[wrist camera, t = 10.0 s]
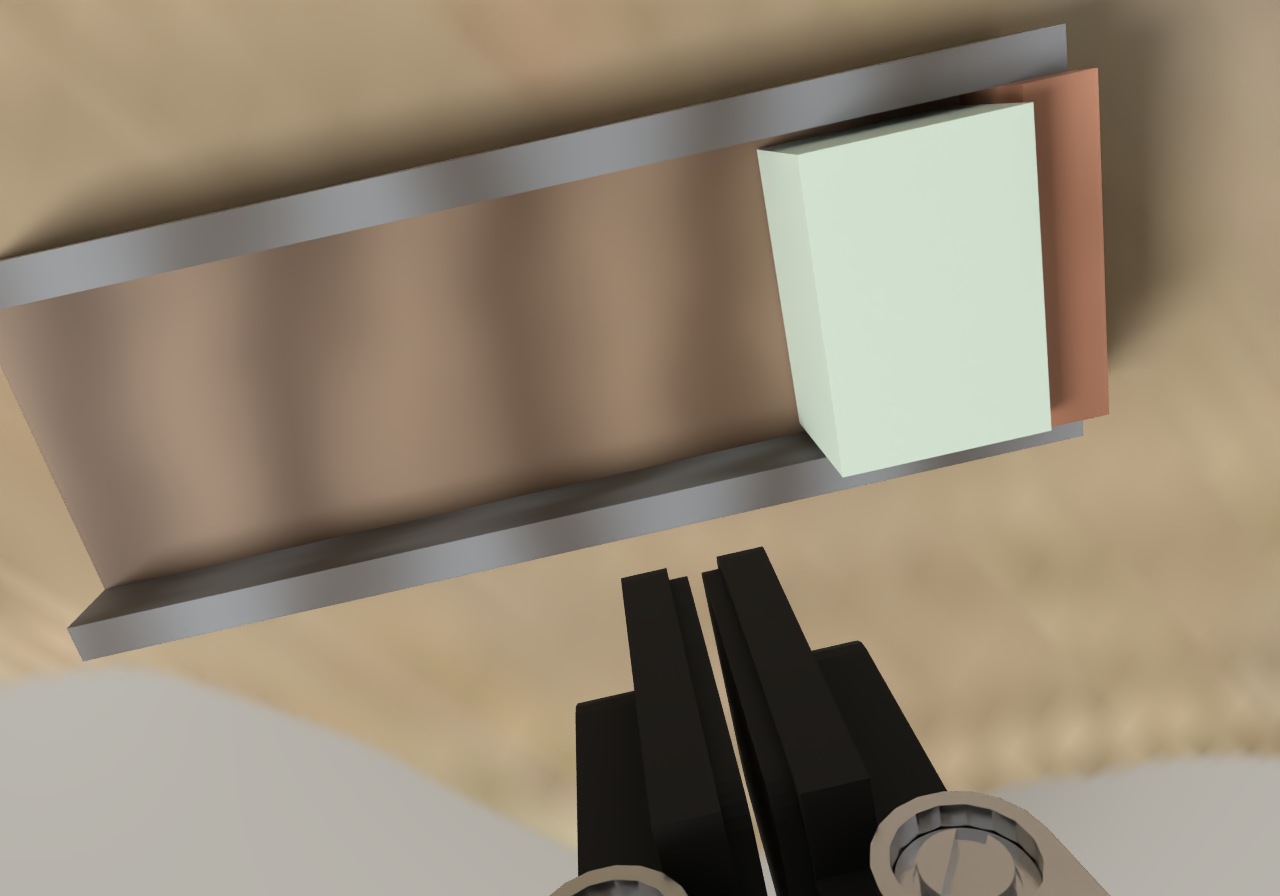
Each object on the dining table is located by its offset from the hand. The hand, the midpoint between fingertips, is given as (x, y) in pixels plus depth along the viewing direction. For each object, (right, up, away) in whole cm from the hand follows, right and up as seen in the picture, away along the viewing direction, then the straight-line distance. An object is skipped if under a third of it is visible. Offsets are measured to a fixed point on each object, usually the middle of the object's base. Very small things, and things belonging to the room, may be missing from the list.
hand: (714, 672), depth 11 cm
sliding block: (+6, +8, +18) cm, 21 cm away
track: (-4, +6, +20) cm, 21 cm away
